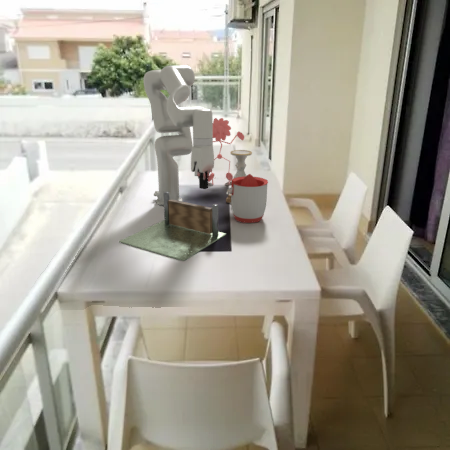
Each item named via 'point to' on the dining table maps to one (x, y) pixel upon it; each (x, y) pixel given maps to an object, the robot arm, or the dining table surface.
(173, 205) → the gate
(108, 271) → the dining table surface
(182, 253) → the gate frame
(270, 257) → the dining table surface
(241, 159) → the candle holder
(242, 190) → the citrus juicer
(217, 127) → the figurine
